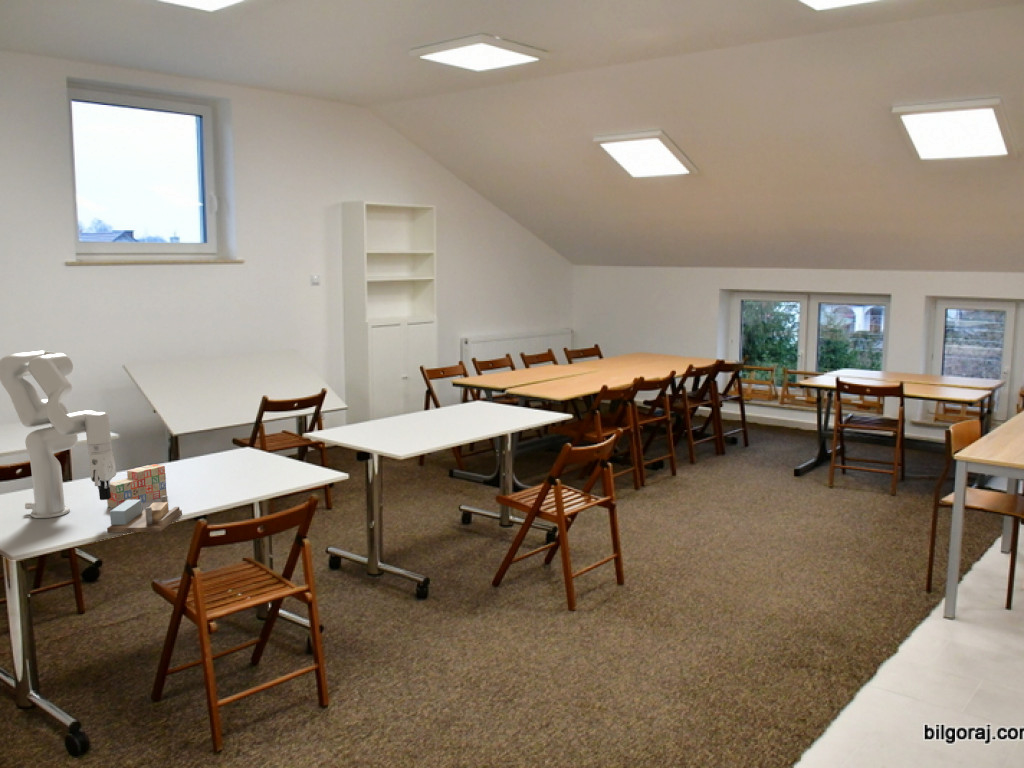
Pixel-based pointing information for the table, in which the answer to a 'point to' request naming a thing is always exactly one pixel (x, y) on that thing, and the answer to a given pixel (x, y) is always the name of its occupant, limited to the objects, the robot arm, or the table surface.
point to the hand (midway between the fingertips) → (105, 499)
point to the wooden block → (159, 510)
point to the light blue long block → (125, 512)
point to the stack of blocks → (139, 485)
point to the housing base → (142, 523)
